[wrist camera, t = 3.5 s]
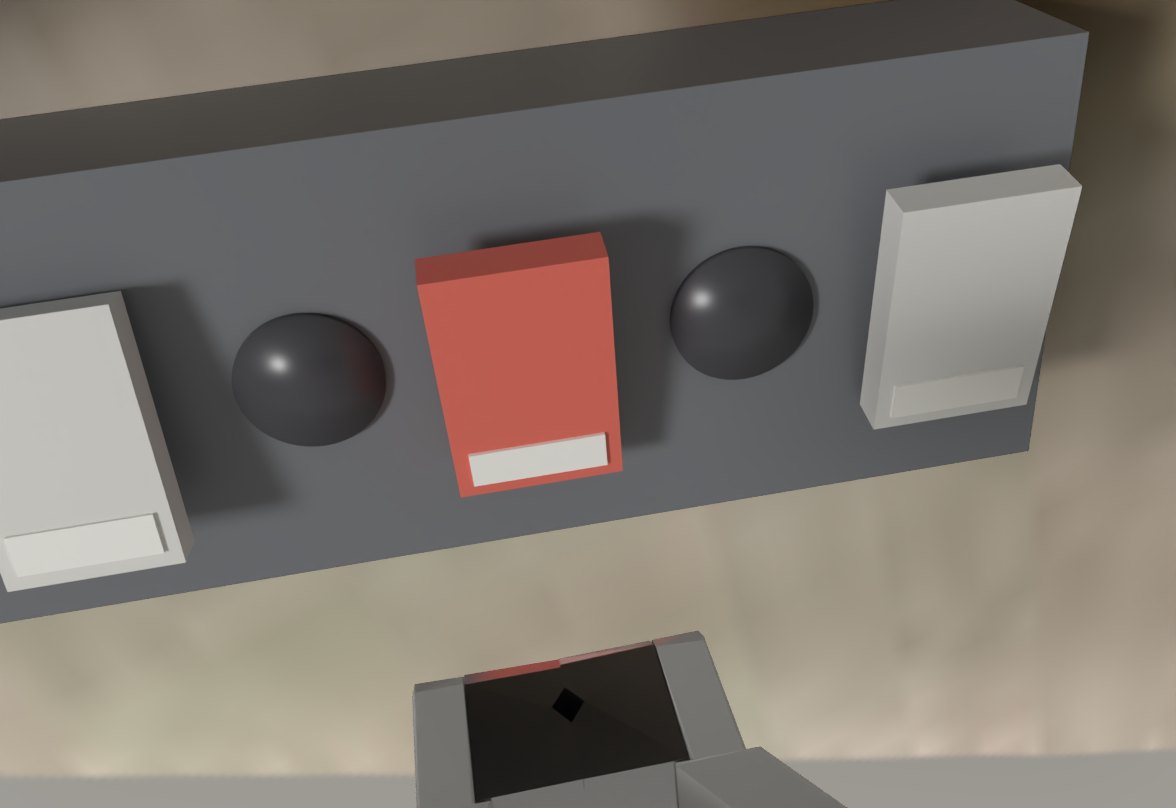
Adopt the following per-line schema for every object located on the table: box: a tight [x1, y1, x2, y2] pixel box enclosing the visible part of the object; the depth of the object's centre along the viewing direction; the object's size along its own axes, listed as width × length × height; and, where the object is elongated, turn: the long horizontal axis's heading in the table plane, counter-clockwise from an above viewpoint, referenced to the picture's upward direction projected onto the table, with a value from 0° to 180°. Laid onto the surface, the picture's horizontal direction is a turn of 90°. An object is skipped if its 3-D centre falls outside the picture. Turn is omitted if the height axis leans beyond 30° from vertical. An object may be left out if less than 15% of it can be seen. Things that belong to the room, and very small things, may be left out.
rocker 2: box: [860, 164, 1082, 430], centre depth 21 cm, size 3×5×1 cm, turn 5°
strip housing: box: [0, 0, 1089, 623], centre depth 22 cm, size 25×9×4 cm, turn 95°
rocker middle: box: [415, 232, 623, 498], centre depth 20 cm, size 3×5×1 cm, turn 5°
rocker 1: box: [0, 291, 195, 592], centre depth 19 cm, size 3×5×1 cm, turn 5°
